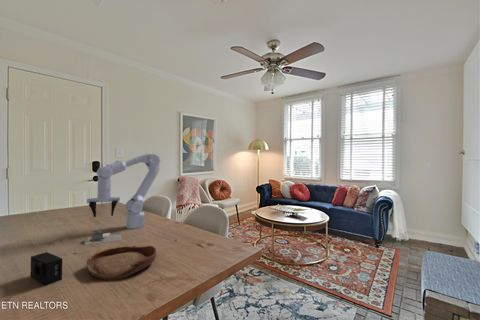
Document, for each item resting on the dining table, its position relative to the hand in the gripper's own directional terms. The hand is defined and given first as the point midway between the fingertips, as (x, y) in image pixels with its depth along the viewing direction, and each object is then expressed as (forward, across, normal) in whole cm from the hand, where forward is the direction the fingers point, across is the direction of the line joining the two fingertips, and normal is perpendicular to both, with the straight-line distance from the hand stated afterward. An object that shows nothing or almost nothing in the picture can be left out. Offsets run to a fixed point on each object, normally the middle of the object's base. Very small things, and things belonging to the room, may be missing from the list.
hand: (103, 216), depth 115 cm
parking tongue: (+9, -2, +4) cm, 11 cm away
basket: (+10, -12, +42) cm, 45 cm away
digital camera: (+10, +11, +43) cm, 45 cm away
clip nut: (+9, +1, +12) cm, 15 cm away
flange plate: (+9, -2, +12) cm, 15 cm away
